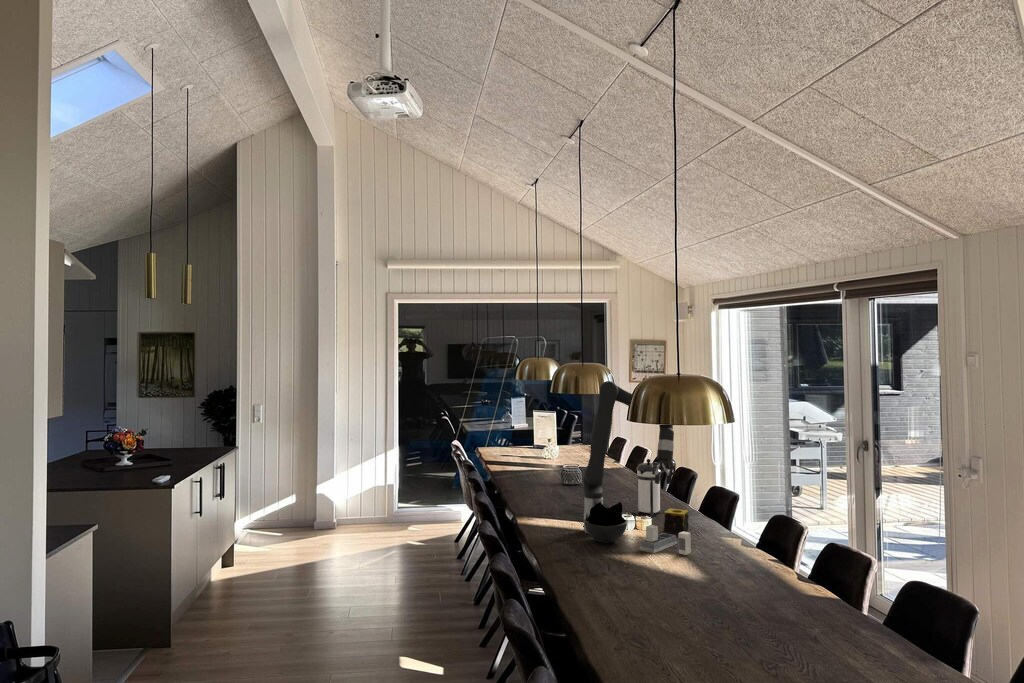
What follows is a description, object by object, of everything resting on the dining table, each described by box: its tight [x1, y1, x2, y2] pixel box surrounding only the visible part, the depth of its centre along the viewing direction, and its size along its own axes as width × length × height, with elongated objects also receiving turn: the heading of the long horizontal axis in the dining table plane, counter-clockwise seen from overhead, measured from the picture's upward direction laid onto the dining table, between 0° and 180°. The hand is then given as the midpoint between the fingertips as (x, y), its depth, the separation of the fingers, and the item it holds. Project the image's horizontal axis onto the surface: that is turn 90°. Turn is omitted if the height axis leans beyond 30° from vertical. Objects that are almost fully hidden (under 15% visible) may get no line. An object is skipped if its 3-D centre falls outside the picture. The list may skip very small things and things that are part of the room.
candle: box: [663, 507, 690, 535], centre depth 343 cm, size 10×10×10 cm
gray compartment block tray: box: [639, 524, 678, 554], centre depth 315 cm, size 20×7×10 cm, turn 136°
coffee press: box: [634, 458, 663, 517], centre depth 381 cm, size 17×16×30 cm
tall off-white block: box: [678, 531, 692, 556], centre depth 305 cm, size 4×4×9 cm
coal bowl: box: [583, 501, 628, 544], centre depth 324 cm, size 20×20×19 cm
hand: (662, 483), depth 330 cm, fingers open, 8 cm apart
